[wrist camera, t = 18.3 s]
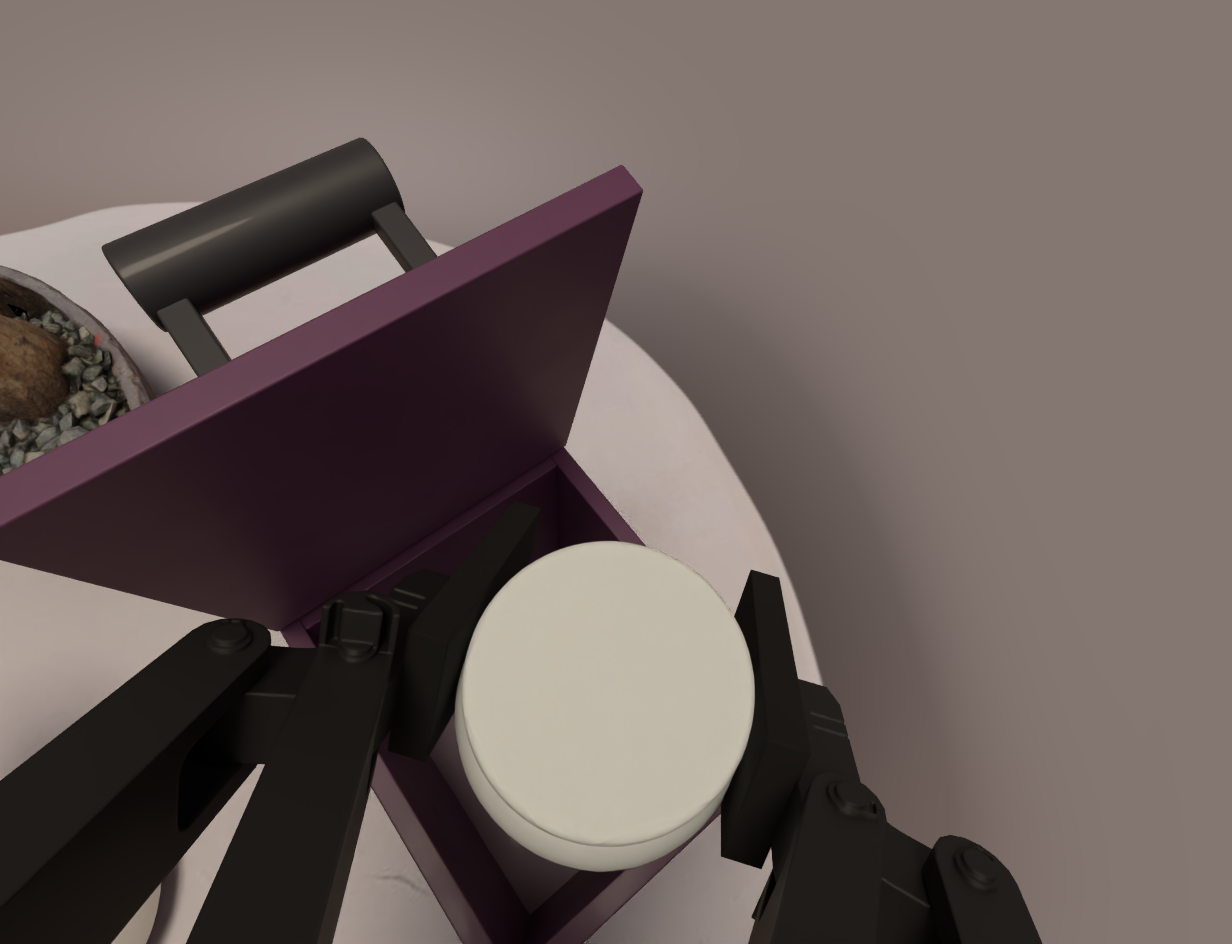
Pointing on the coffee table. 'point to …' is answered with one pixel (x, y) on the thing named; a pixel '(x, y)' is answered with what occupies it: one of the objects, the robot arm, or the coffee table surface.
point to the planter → (56, 371)
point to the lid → (323, 393)
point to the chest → (439, 789)
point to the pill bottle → (604, 705)
